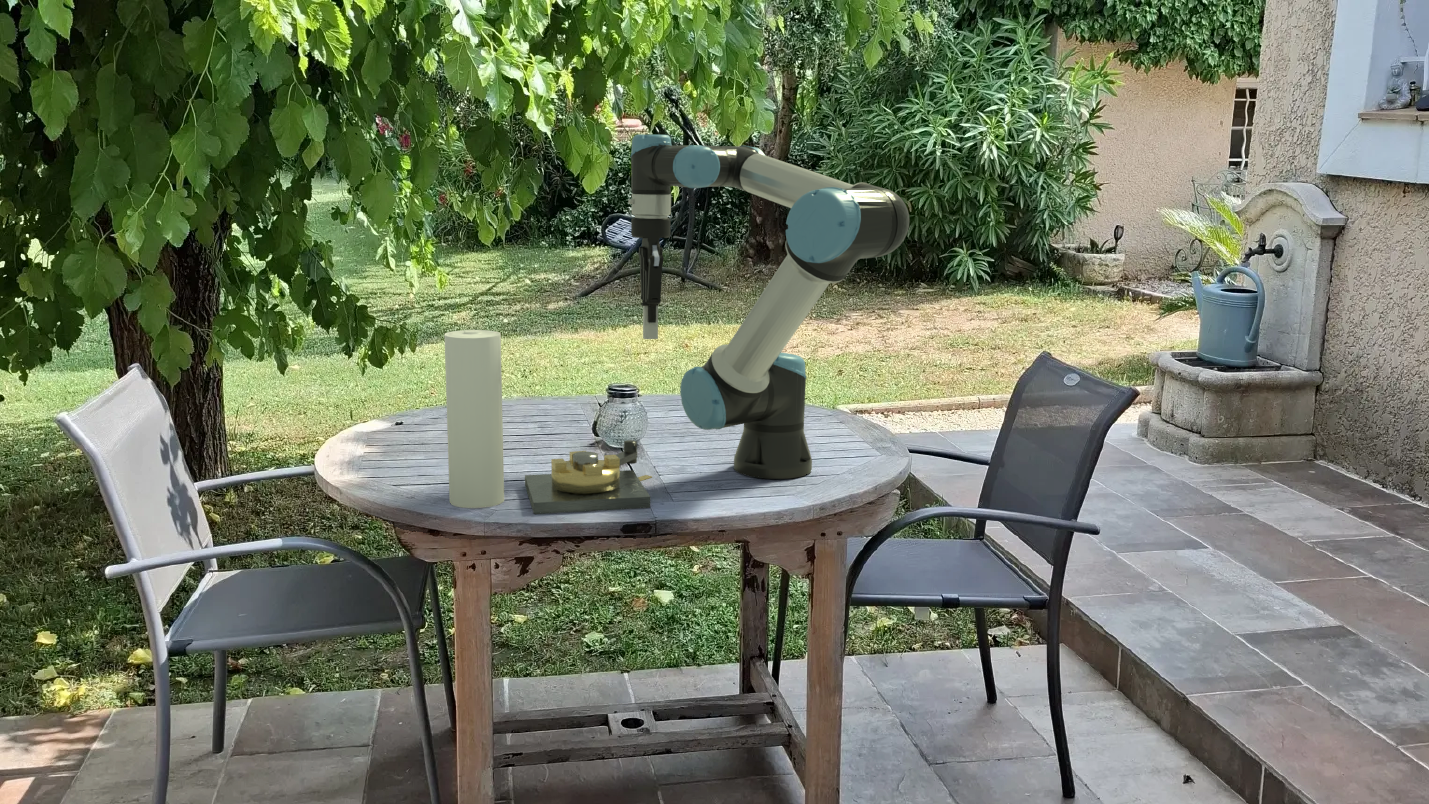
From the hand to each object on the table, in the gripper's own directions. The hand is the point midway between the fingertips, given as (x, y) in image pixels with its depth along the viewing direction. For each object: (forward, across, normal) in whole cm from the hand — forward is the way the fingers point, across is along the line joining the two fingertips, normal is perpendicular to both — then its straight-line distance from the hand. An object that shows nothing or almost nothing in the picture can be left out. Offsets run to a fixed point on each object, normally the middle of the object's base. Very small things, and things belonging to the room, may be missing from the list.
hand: (650, 338), depth 239 cm
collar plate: (+24, +22, -14) cm, 36 cm away
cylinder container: (+25, +23, -35) cm, 48 cm away
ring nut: (+22, +19, -12) cm, 32 cm away
